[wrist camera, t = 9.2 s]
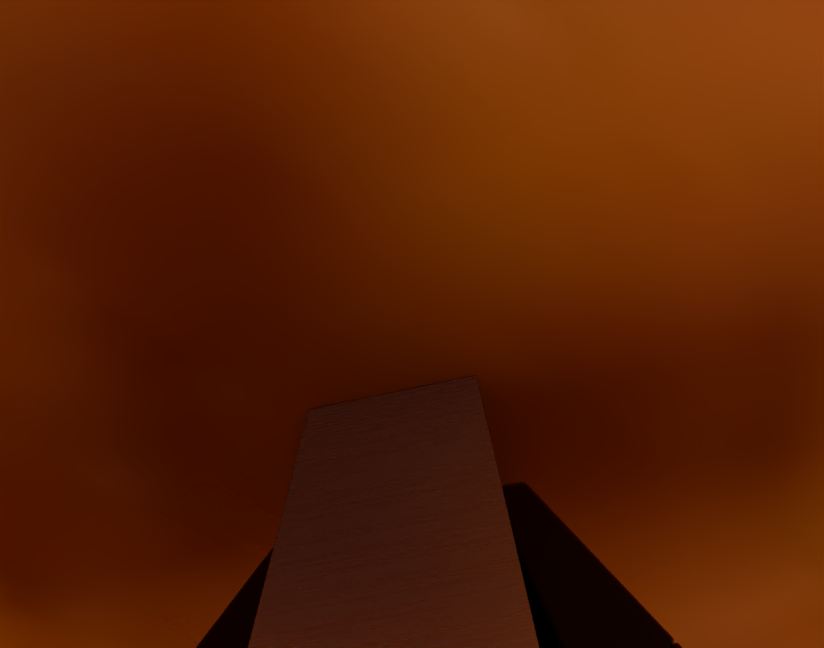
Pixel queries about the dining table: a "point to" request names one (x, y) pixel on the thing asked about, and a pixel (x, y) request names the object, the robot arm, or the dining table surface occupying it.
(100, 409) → the dining table surface
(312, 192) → the dining table surface
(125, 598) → the dining table surface
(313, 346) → the dining table surface
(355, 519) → the grey block
